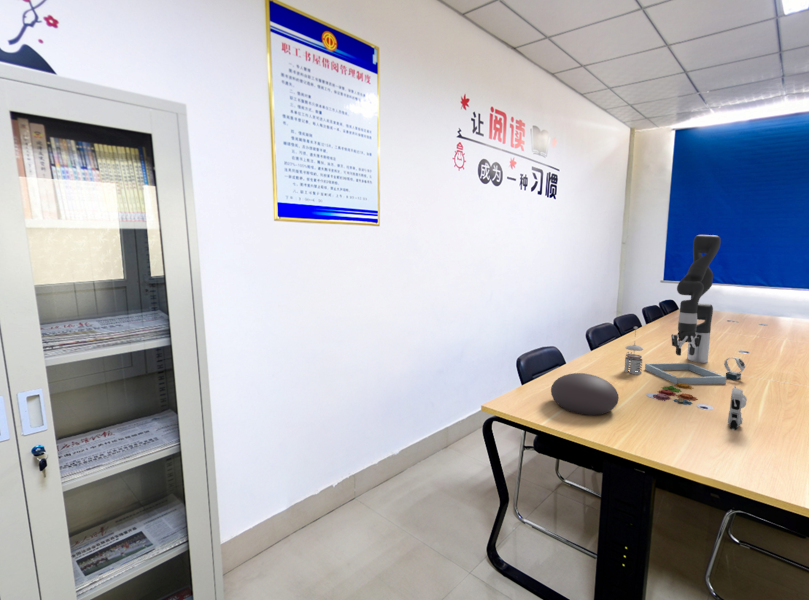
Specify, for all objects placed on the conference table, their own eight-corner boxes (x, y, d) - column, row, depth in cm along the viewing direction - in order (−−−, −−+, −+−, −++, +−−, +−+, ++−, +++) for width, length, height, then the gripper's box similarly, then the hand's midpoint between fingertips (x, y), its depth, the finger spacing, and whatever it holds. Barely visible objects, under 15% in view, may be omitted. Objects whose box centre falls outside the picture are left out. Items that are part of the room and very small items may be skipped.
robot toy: (742, 437, 143) (747, 395, 141) (726, 433, 146) (730, 392, 144) (744, 425, 152) (748, 386, 150) (728, 422, 155) (732, 383, 153)
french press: (647, 374, 213) (650, 326, 210) (635, 379, 206) (638, 329, 203) (628, 370, 221) (631, 323, 218) (616, 374, 214) (619, 326, 211)
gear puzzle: (667, 384, 199) (668, 376, 199) (708, 392, 188) (709, 384, 188) (649, 402, 177) (649, 392, 177) (694, 412, 166) (695, 402, 166)
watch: (740, 382, 200) (743, 360, 199) (721, 378, 207) (723, 356, 205) (745, 380, 203) (747, 358, 202) (725, 376, 210) (727, 354, 208)
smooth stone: (591, 398, 181) (593, 364, 179) (632, 421, 156) (634, 383, 155) (539, 402, 177) (540, 368, 175) (572, 427, 152) (574, 387, 150)
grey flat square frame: (644, 371, 219) (645, 363, 219) (688, 370, 220) (689, 362, 220) (676, 386, 195) (676, 378, 195) (725, 385, 196) (726, 376, 196)
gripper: (696, 320, 208) (693, 352, 210) (668, 320, 207) (665, 353, 210) (707, 322, 201) (704, 356, 203) (678, 323, 200) (676, 357, 202)
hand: (684, 354), depth 206 cm, fingers open, 6 cm apart
